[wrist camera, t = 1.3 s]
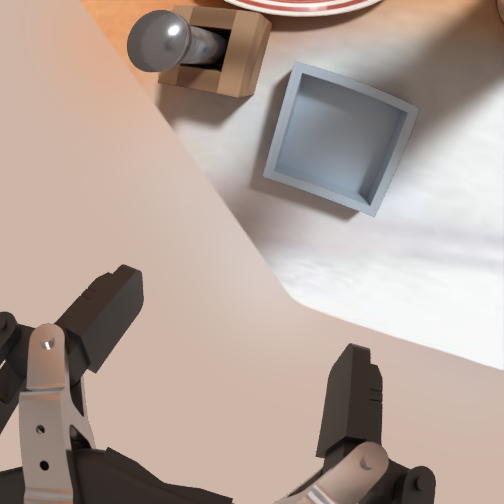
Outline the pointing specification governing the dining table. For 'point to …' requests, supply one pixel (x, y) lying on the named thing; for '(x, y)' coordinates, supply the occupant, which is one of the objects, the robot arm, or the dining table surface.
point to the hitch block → (237, 55)
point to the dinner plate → (302, 6)
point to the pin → (172, 43)
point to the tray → (339, 138)
